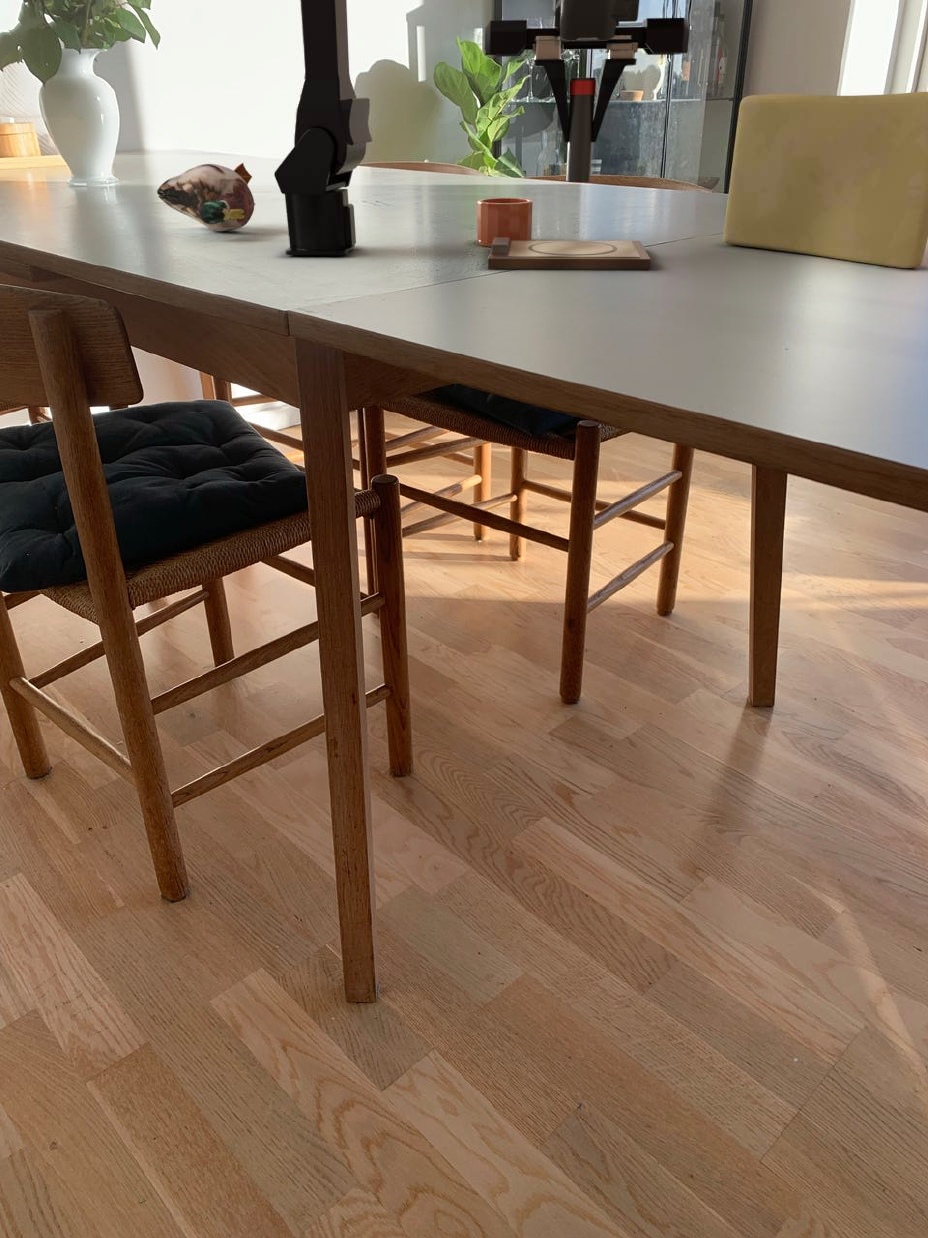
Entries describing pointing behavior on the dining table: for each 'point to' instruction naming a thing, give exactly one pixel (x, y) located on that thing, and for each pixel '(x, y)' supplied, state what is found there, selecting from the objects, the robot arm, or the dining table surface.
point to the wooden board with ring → (568, 255)
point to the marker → (580, 129)
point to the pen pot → (504, 219)
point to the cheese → (832, 176)
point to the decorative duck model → (211, 196)
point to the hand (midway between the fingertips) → (579, 141)
